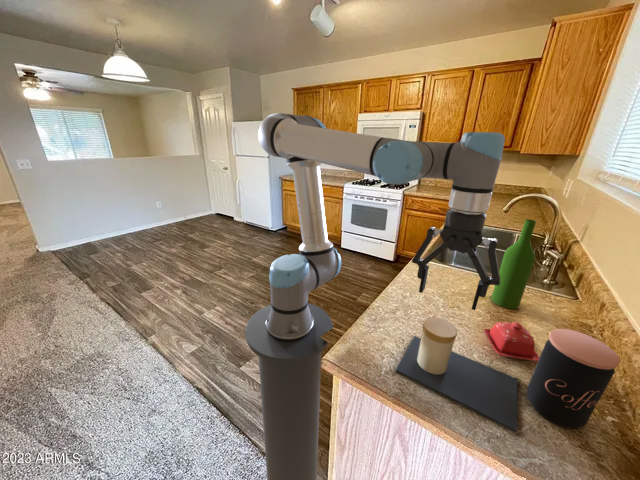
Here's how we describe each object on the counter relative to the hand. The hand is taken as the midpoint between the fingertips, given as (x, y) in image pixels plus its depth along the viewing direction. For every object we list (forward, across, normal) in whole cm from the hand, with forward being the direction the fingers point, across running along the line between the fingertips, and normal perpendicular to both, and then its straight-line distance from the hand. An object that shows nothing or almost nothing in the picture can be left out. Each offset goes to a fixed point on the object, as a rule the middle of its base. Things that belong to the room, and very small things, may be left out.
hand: (446, 298), depth 64 cm
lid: (+9, 0, 0) cm, 9 cm away
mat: (+21, -6, 0) cm, 22 cm away
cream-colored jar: (+20, 0, 0) cm, 20 cm away
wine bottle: (+21, -15, -49) cm, 55 cm away
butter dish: (+21, -17, -21) cm, 34 cm away
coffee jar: (+21, -26, -4) cm, 34 cm away
